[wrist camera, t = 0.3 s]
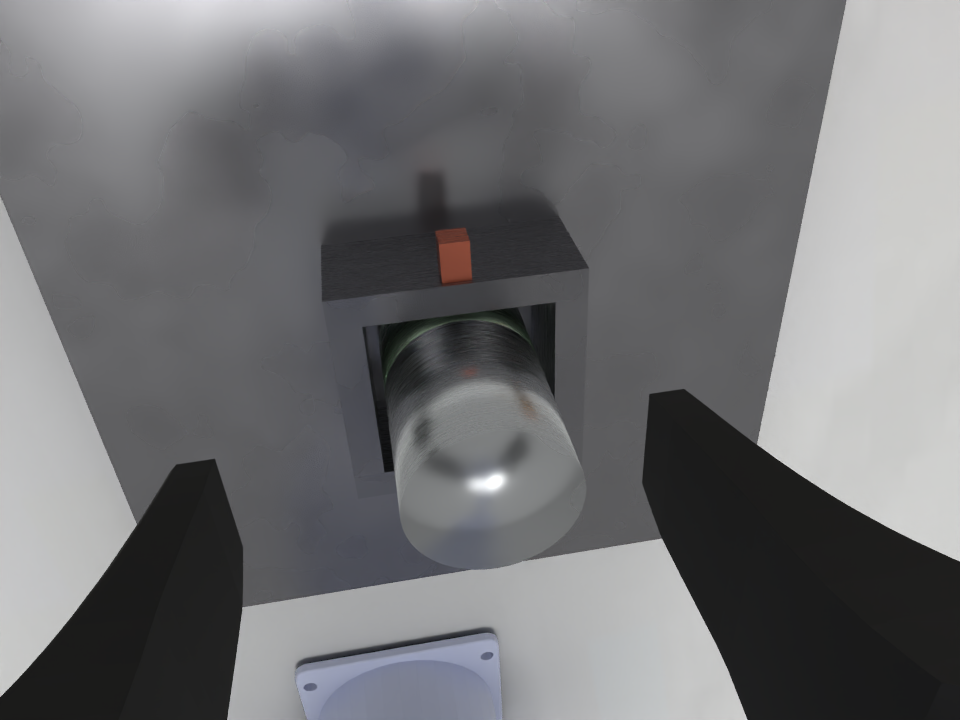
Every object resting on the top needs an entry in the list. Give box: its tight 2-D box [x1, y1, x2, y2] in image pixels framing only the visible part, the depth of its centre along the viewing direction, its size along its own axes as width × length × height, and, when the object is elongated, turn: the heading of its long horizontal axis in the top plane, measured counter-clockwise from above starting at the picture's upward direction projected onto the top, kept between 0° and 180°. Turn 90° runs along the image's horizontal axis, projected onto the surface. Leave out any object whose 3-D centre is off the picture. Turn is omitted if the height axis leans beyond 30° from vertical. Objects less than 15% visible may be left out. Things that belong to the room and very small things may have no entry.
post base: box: [0, 0, 846, 607], centre depth 22 cm, size 20×20×4 cm
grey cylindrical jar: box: [379, 307, 586, 570], centre depth 20 cm, size 4×4×6 cm
